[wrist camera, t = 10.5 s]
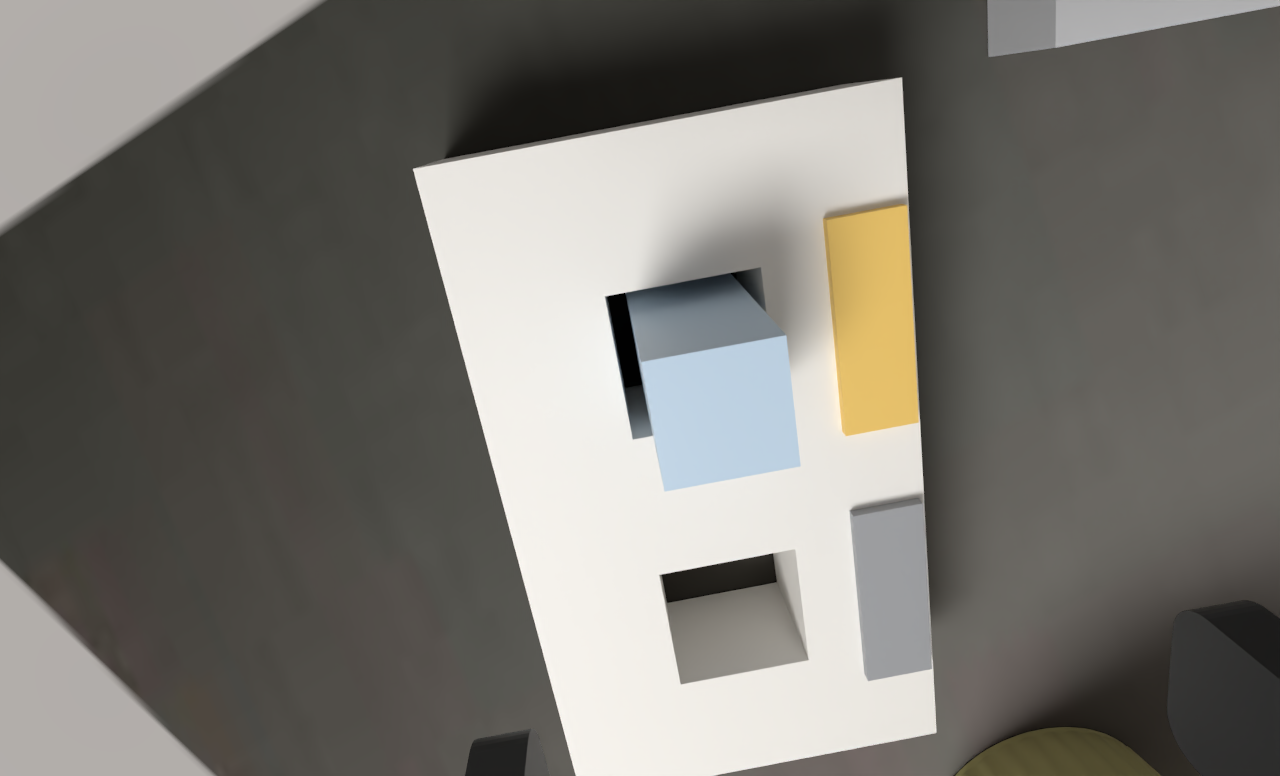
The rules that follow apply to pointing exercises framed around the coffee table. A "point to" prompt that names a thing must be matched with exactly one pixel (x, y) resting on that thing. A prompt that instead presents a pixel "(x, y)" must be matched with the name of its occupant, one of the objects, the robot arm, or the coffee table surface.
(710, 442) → the plug
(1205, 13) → the holster
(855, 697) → the port panel
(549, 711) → the coffee table surface
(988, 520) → the coffee table surface
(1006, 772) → the potted cactus
